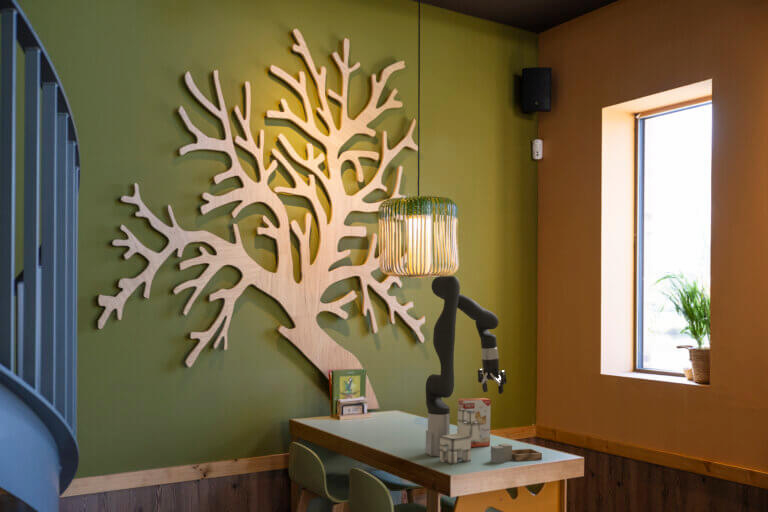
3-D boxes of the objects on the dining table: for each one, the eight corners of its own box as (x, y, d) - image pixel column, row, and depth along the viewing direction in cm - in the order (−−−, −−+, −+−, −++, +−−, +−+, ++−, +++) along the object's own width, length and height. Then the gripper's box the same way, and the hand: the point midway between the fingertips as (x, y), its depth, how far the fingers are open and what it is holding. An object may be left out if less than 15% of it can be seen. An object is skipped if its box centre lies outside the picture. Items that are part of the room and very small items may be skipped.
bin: (515, 461, 297) (515, 454, 298) (505, 456, 306) (505, 450, 306) (541, 459, 301) (541, 453, 301) (530, 454, 310) (530, 448, 310)
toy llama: (435, 461, 294) (435, 411, 295) (466, 456, 305) (466, 408, 306) (447, 465, 288) (448, 414, 289) (479, 459, 299) (479, 410, 300)
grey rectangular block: (495, 463, 293) (495, 448, 293) (490, 461, 297) (490, 446, 297) (504, 462, 294) (504, 447, 294) (499, 460, 298) (499, 445, 298)
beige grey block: (504, 461, 297) (504, 446, 297) (498, 459, 301) (498, 444, 301) (512, 460, 299) (512, 445, 299) (506, 458, 303) (506, 443, 303)
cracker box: (462, 448, 321) (463, 400, 322) (456, 445, 326) (456, 398, 327) (490, 446, 326) (491, 399, 327) (484, 443, 331) (484, 397, 333)
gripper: (472, 358, 334) (475, 393, 335) (498, 359, 324) (501, 395, 325) (482, 355, 339) (485, 389, 340) (507, 356, 329) (511, 392, 330)
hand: (493, 392), depth 332 cm, fingers open, 8 cm apart
